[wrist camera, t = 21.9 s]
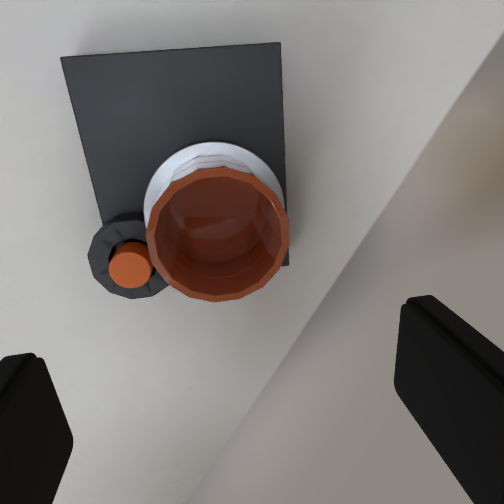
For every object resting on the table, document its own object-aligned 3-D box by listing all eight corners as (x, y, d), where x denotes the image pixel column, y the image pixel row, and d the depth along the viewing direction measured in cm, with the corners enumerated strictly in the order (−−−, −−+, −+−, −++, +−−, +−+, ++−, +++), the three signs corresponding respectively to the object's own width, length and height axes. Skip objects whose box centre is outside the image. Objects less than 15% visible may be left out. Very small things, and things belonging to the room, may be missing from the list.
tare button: (157, 273, 23) (154, 286, 21) (119, 277, 23) (113, 291, 21) (150, 238, 22) (146, 249, 20) (110, 243, 22) (103, 254, 20)
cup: (274, 258, 23) (291, 292, 19) (168, 271, 22) (160, 310, 18) (268, 149, 20) (286, 160, 16) (147, 161, 19) (132, 176, 15)
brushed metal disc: (285, 266, 23) (287, 268, 23) (158, 282, 23) (157, 285, 22) (280, 134, 20) (281, 134, 20) (130, 148, 19) (129, 149, 19)
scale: (283, 257, 27) (295, 277, 24) (112, 279, 26) (100, 303, 23) (274, 46, 21) (287, 36, 18) (55, 62, 20) (28, 53, 17)
